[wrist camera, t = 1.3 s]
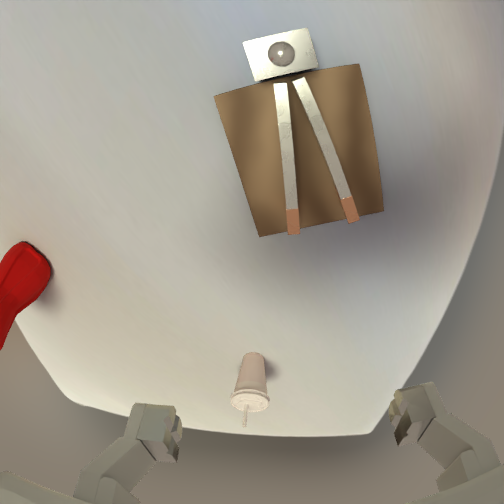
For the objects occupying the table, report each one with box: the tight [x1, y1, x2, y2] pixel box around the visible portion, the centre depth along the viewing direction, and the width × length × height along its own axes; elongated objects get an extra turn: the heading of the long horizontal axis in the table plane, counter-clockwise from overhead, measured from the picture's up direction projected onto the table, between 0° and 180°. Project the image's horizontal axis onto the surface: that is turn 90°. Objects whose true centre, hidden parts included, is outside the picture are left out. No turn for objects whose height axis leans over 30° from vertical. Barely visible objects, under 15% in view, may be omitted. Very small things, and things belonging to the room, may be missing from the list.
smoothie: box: [231, 353, 270, 427], centre depth 50 cm, size 6×6×14 cm
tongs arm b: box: [274, 82, 300, 235], centre depth 32 cm, size 16×1×4 cm, turn 7°
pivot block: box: [243, 28, 319, 81], centre depth 26 cm, size 6×4×7 cm, turn 106°
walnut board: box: [214, 64, 384, 237], centre depth 34 cm, size 16×18×2 cm
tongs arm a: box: [290, 76, 360, 224], centre depth 31 cm, size 16×1×4 cm, turn 25°
